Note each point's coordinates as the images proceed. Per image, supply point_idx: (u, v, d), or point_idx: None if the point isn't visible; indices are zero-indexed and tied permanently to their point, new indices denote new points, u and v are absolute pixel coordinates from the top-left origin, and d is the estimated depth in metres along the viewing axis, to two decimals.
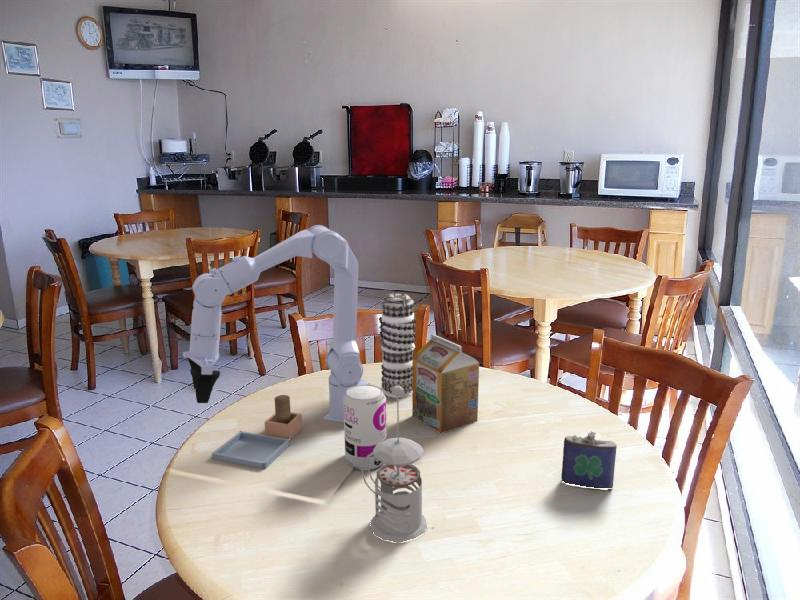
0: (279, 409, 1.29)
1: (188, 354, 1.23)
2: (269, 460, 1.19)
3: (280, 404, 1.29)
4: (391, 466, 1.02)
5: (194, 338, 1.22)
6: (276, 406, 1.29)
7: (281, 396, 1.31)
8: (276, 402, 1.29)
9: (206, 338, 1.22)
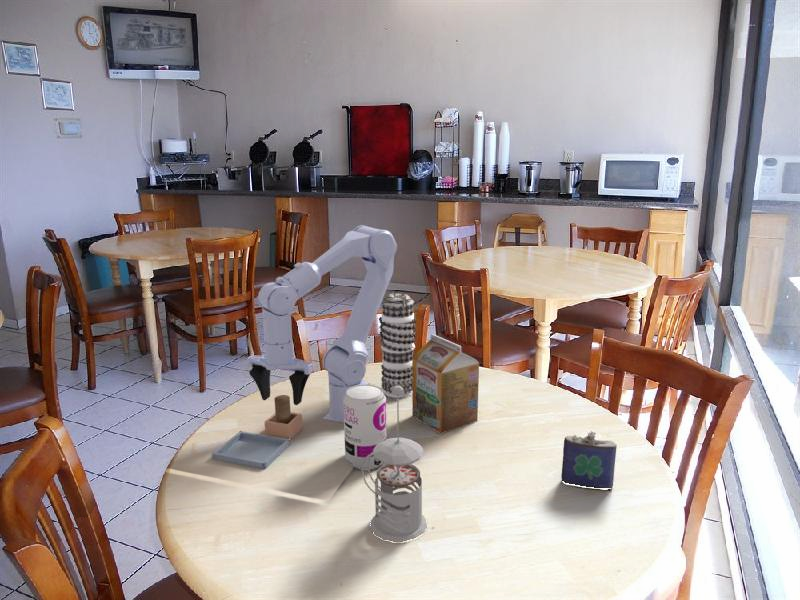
0: (279, 409, 1.29)
1: (275, 366, 1.25)
2: (269, 460, 1.19)
3: (280, 404, 1.29)
4: (391, 466, 1.02)
5: (280, 348, 1.24)
6: (276, 406, 1.29)
7: (281, 396, 1.31)
8: (276, 402, 1.29)
9: (290, 343, 1.26)
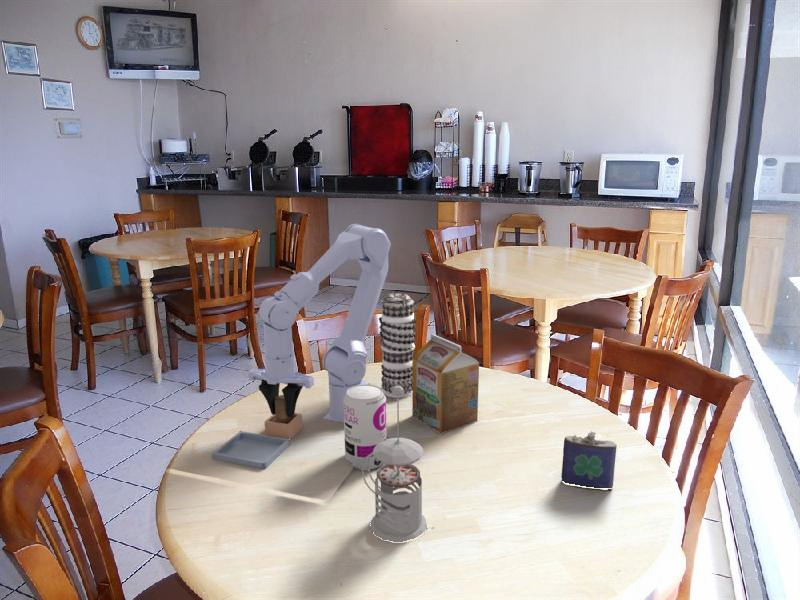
0: (279, 409, 1.29)
1: (276, 380, 1.25)
2: (269, 460, 1.19)
3: (280, 404, 1.29)
4: (391, 466, 1.02)
5: (281, 362, 1.25)
6: (276, 406, 1.29)
7: (281, 396, 1.31)
8: (276, 402, 1.29)
9: (291, 357, 1.26)
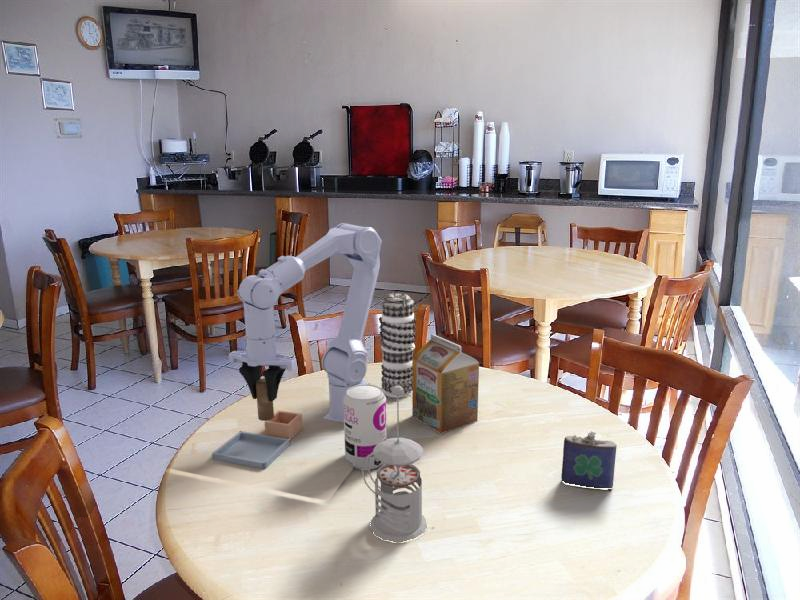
0: (261, 393, 1.23)
1: (256, 362, 1.20)
2: (269, 460, 1.19)
3: (261, 387, 1.23)
4: (391, 466, 1.02)
5: (262, 343, 1.19)
6: (257, 390, 1.24)
7: (263, 379, 1.25)
8: (257, 385, 1.23)
9: (272, 338, 1.21)
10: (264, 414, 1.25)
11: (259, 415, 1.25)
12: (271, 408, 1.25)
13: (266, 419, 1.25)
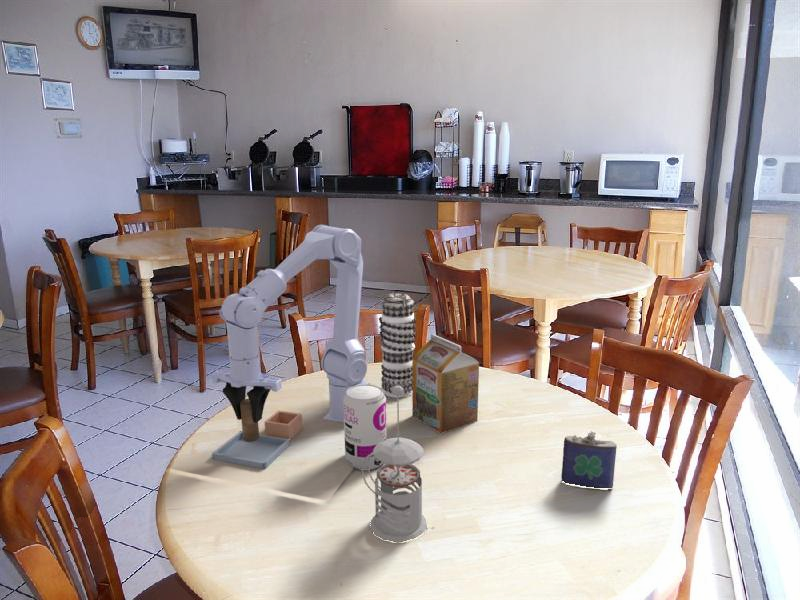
0: (245, 414, 1.20)
1: (240, 382, 1.17)
2: (269, 460, 1.19)
3: (245, 408, 1.20)
4: (391, 466, 1.02)
5: (245, 363, 1.16)
6: (242, 410, 1.20)
7: (247, 400, 1.22)
8: (241, 406, 1.20)
9: (257, 358, 1.18)
10: (249, 435, 1.21)
11: (244, 436, 1.22)
12: (256, 429, 1.22)
13: (251, 440, 1.22)
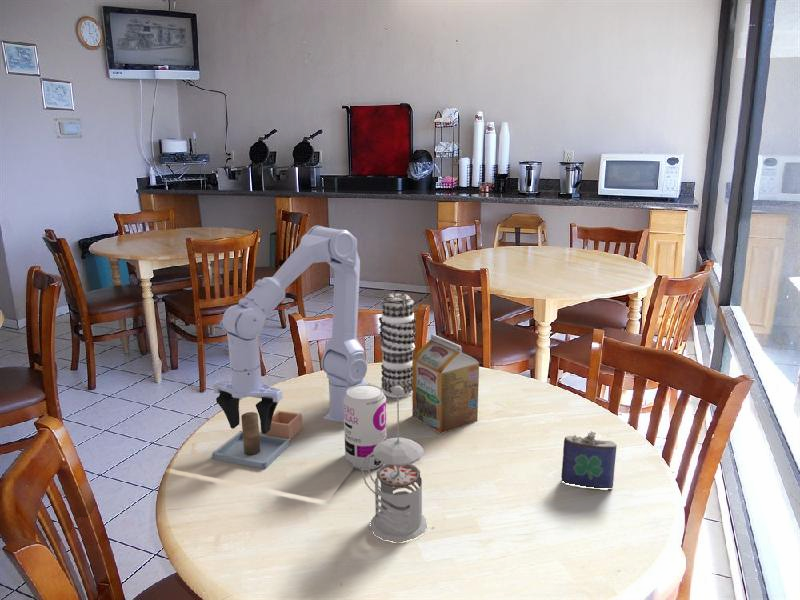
0: (246, 428, 1.21)
1: (241, 393, 1.17)
2: (269, 460, 1.19)
3: (246, 422, 1.21)
4: (391, 466, 1.02)
5: (246, 374, 1.17)
6: (243, 424, 1.21)
7: (249, 413, 1.23)
8: (243, 420, 1.21)
9: (257, 369, 1.18)
10: (250, 448, 1.22)
11: (245, 450, 1.23)
12: (257, 442, 1.23)
13: (252, 454, 1.23)
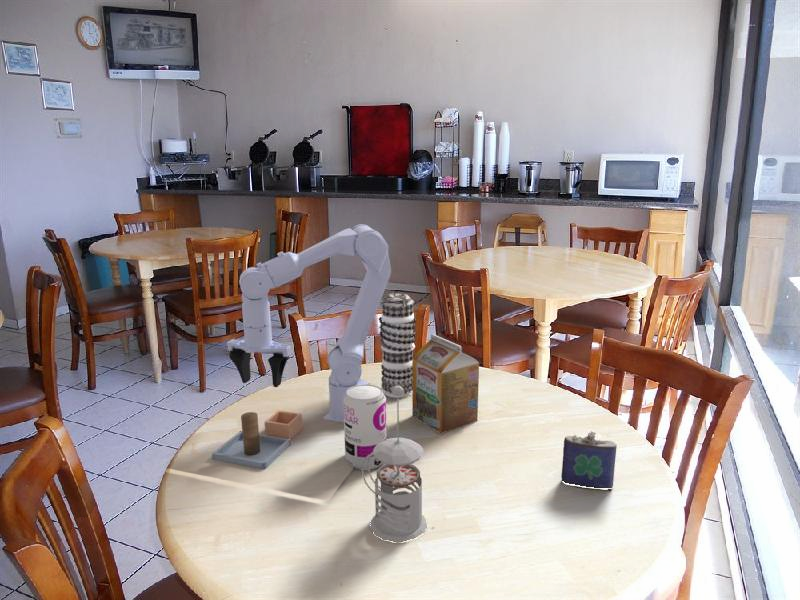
0: (246, 428, 1.21)
1: (254, 349, 1.28)
2: (269, 460, 1.19)
3: (246, 422, 1.21)
4: (391, 466, 1.02)
5: (259, 331, 1.27)
6: (243, 424, 1.21)
7: (248, 413, 1.23)
8: (242, 420, 1.21)
9: (268, 326, 1.29)
10: (250, 448, 1.22)
11: (245, 450, 1.23)
12: (257, 442, 1.23)
13: (252, 454, 1.23)
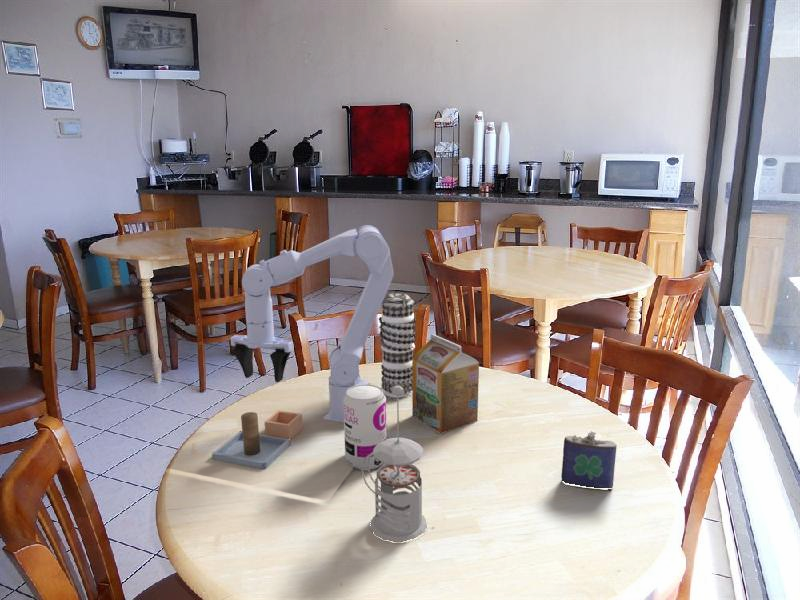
0: (246, 428, 1.21)
1: (256, 344, 1.30)
2: (269, 460, 1.19)
3: (246, 422, 1.21)
4: (391, 466, 1.02)
5: (261, 327, 1.30)
6: (243, 424, 1.21)
7: (248, 413, 1.23)
8: (242, 420, 1.21)
9: (271, 322, 1.31)
10: (250, 448, 1.22)
11: (245, 450, 1.23)
12: (257, 442, 1.23)
13: (252, 454, 1.23)
